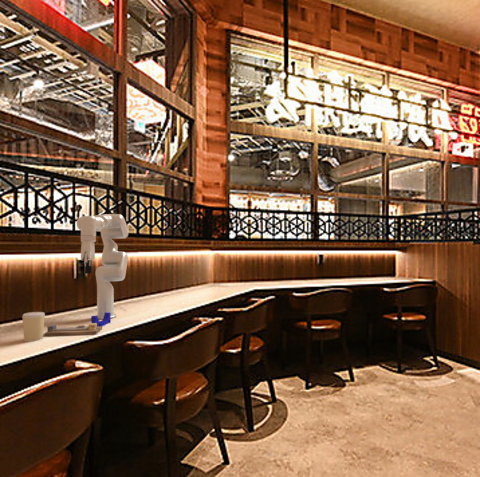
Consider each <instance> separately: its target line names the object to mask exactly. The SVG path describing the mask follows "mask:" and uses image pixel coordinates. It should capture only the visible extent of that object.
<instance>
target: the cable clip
mask: <svg viewBox="0 0 480 477" xmlns="http://www.w3.org/2000/svg"><path fill="white" fill-rule="evenodd" d="M90 317H91V318H90V323H97V326H102V327H104V326H106V325H108V324H111V321H112V320H111V319H112V318H111V313H109V312H106V313H104V318H103V319H101V320H100V319H98V316H95V315H91V316H90Z"/></svg>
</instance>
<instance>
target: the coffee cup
mask: <svg viewBox="0 0 480 477" xmlns="http://www.w3.org/2000/svg"><path fill="white" fill-rule="evenodd" d="M21 317H22V329H23V341H25V342H35V341H40V339H41V340H42V339H43V338H44V330H45V329H44V328H45V317H46V314H45V312H43V311H31V312H26V313H23V314H22V316H21Z"/></svg>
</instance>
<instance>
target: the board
mask: <svg viewBox="0 0 480 477" xmlns="http://www.w3.org/2000/svg"><path fill="white" fill-rule="evenodd" d="M57 326H58V324H49V325H48V326H47V331H46V332H44V337H59V336H61V337H64V336H67V337H68V336H86V335H87V336H89V335H92V336H93V335H97V334H98V333H100V332H101V330H103V326H97V323H91V322H90V323H89V324H88V326H89V329H87V330H64V331H55V329H56V328H58V327H57Z"/></svg>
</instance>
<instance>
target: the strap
mask: <svg viewBox="0 0 480 477" xmlns="http://www.w3.org/2000/svg"><path fill="white" fill-rule="evenodd" d="M87 329H89V325H85V324H84V325H77V326H58V327H57V328H56V329H55V331H64V330H87Z"/></svg>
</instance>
